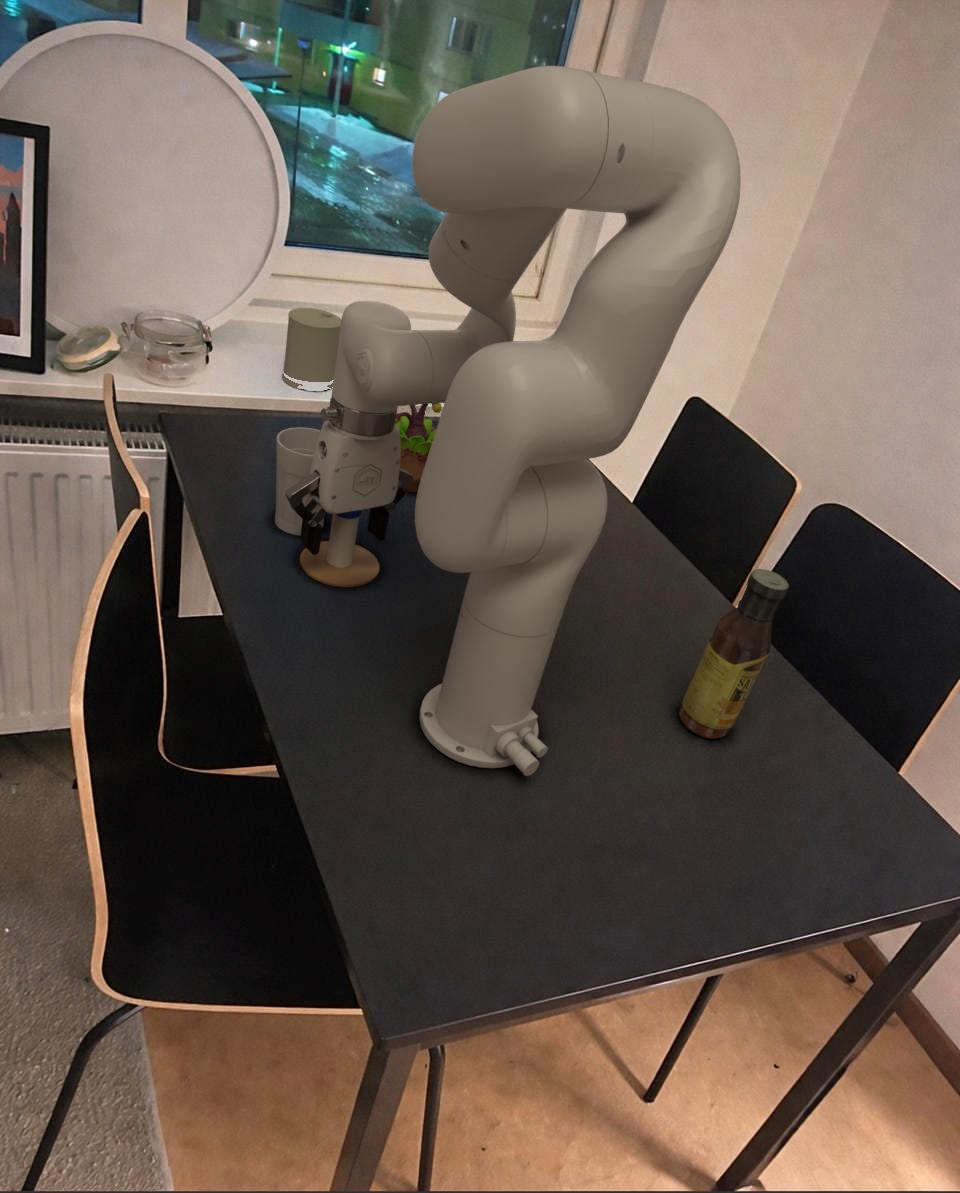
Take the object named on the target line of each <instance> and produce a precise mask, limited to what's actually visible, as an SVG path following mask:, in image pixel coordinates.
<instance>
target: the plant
mask: <svg viewBox="0 0 960 1193" xmlns="http://www.w3.org/2000/svg"><path fill="white" fill-rule="evenodd" d="M427 407H429V404H420V407H419V409H418V411H417V407H416V405H409V408H410V412H407V411H402V412H397V414H396V420H395V424H396V425H397V426H398V427H399V430H400V444H401V456H400V468H401V469H403V470H405V471H407V472H408V473H410V474H411V475H412V476H413V480H412V482H411V484H410V485H409V487H408V488H407V490H405V492H408V493H417V492H418V488H419V484H420V480H421V477H422V474H423V470H424V467H425V464H426V461H427V458H428V454H429V451H430V448H431V445H432V442H433V439H434V435H435V432H436V429H437V427H434V426H433V420H432V418H425V416H426V411H427ZM431 409H432V411H433V412H434V413H436V414H437V413H438V414H440V412H442V410H443V406H442V403H431Z"/></svg>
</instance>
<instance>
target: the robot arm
mask: <svg viewBox="0 0 960 1193" xmlns="http://www.w3.org/2000/svg"><path fill="white" fill-rule="evenodd" d="M411 167H412V177H413V181H414V184H415V188H416V190H417V191H418V193H419V195H420V198H421V199H422V200H423V201H424V202H425V203H426V204H427V205H428V206H429V207H431V208H433V209H434V210H436V211H439V212H442V213H445V215H443V216H444V217H443V218H442V220H441V222H440V224H439V226H438V227H437V229H436V230H435V233H434V234H433V236H432V238H431V240H430V242H429V245H428V252H427V254H428V262H429V266H430V268H431V271H432V273H433V275H434V277H435V278H436V280H437V281H438V282H439V284H440V285H441V286H442V287H443V288H444V289H445V291H447V292H448V293H449V294H450V295H452V296H453V298H455V299H457V300H458V301H459V302H461V303H463V304H464V305H466V306H467V307H469V308H470V310H469V311H468V313H467V314H466V315H465V317H464V319H463V320H462V322H461V323H460V324H459V326H457V328H455V329H412V324H411V320H410V318H409V316H408V315H407V313H405V311H403V310H402V309H400V308H399V307H396V306H394V305H391V304H389V303H384V302H381V301H375V300H358V301H354V302H352V303H349V304H348V305H347V306H346V307H345V309H344V310H343V312H342V315H341V318H340V319H341V327H340V334H339V342H338V350H337V358H336V365H335V373H334V381H333V388H332V389H331V398H330V399H329V406H328V407H325V408H321V410H320V418H321V419H322V420H323V424H322V426H321V429H320V430H321V431H320V434H319V437H318V441H317V444H316V448H315V452H314V456H313V461H312V466H311V471H310V475H309V476H308V477H306V478H305V479H303V480H301V481H300V482H298V483H297V484H295V485H294V486H292V487H291V488H289V489H288V490H286V492H285V495H286V497H287V499H288V501H289V503H290V505H291V508H292V509H293V510H294V511H295V512H296V513H297V514H298V515H299V516H300V517H301V518H302V527H301V535H299V536H300V538H299V539H300V542H301V544H302V546H304V547H305V548H307V549H308V550H309V551H310V552H311V553H312V554H313V555H315V554H318V553H319V549H320V542H322V541H321V540H322V534H323V528H322V526H321V525H320V524H319V523H320V521H321V520H322V519H323V518H324V519H325V517H326V515H328V514H330V515H333V514H340V513H347V512H352V511H358V510H361V511H364V510H368V509H369V515H368V521H367V526H366V527H367V528H366V529H367V531H368V532H369V533H370V534H371V535H372V536H373V537H375V539H377V540H378V541H379V542H383V541H385V540H386V536H387V530H388V526H389V520H390V515H391V514H392V513H393V512H395V510H396V508H397V507H396V505H397V504H398V503H399V502H400V501H401V500H402V499H404V496H405V495H406V491H405V490H407V488H408V487H409V485H410V484H411V482H412V480H413V476H412V475H411V474H410V473H408V472H407V471H405V470H403V469H401V468H400V456H401V444H400V430H399V427H398V426H397V425H396V424H395V420H396V414H397V413H398V408H399V407H406V406H410V405H415V406H418V405H423V404H428V405H429V404H432V403H440V404H443V406H442V409H441V413H440V416H439V420H438V423H437V425H436V432H435V435H434V439H433V442H432V445H431V448H430V451H429V454H428V458H427V461H426V464H425V467H424V470H423V474H422V477H421V480H420V484H419V488H418V492H416V499H415V504H414V526H415V534H416V537H417V542H418V543H419V547H420V549H421V551H422V552H423V554H424V555H425V556H426V558H427V560H429V561H430V562H431V563H432V564H433V565H435V566H436V567H438V568H439V569H441V570H444V571H447V572H451V573H456V574H457V573H458V574H467V573H469V576H468V580H467V583H466V587H465V590H464V594H463V599H462V603H461V605H460V606H461V607H460V611H459V614H458V617H457V618H458V619H457V623H456V627H455V630H454V634H453V638H452V642H451V647H450V650H449V654H448V659H447V663H446V667H445V671H444V675H443V679H442V683H440V684H437V685H436V686H435V687H433V688H431V690H429V691H428V692H427V693H426V694H425V696H424V698H423V699H422V701H421V705H420V708H419V715H418V719H419V725H420V728H421V731H422V732H423V735H424V737H426V739H427V740H428V741H429V743H430V744H431V745H432V746H433V747H434V748H436V750H438V751H439V752H441V753H442V754H443V755H445V756H446V757H448V758H450V759H452V760H454V761H455V762H458V763H460V764H461V763H462V764H464V765H466V766H470V767H477V768H481V769H482V768H483V769H499V768H506V767H511V766H513V765H514V766H515V767H516V768H517V769H518V770H519V771H520V772H521V773H522V774H523V775H524V776H526V777H528V776H531V775H533V774H534V773H535V772H536V771H537V770H538V768H539V767H540V761H539V760H538V759H537V758H540V759H541V758H542V757H544V756H545V755H547V753H548V750H549V747H548V746H547V745H545V743H544V742H543V741H541V739H539V738H538V737H539V732H540V730H539V723H538V717H539V715H538V714H537V713H536V712H535V711H534V710H533V705H534V702H535V699H536V696H537V692H538V690H539V686H540V685H541V684H540V683H541V680H542V678H543V674H544V671H545V668H546V665H547V663H548V659H549V656H550V653H551V650H552V647H553V644H554V641H555V638H556V634H557V632H558V628H559V626H560V623H561V620H562V617H563V614H564V611H565V608H566V605H567V602H568V600H569V597H570V594H571V592H572V589H573V586H574V585H575V582H576V580H577V578H578V575H579V573H580V572H581V569H582V568H583V566H584V564H585V562H586V561H587V560H588V558H589V555H590V554H591V552H592V550H593V549H594V547H595V545H596V543H597V542H598V539H599V537H600V535H601V533H602V530H603V528H604V525H605V522H606V518H607V513H608V493H607V487H606V484H605V482H604V479H603V477H602V475H601V473H600V472H599V470H598V469H597V467H596V466H595V465H594V464H593V463H592V462H591V461H589V460H590V459H591V460H592V459H596V458H600V457H603V456H606V455H608V454H611V453H613V452H614V451H615V450H617V449H618V448H619V447H620V446H621V445H622V444H623V443H624V441H625V440H626V439H627V437H629V436H628V435H629V434H630V432H631V430H632V429H633V426H634V425H635V424H636V421H637V418H638V417H639V414H640V413H641V410H642V408H643V406H644V404H645V402H646V400H647V398H648V396H649V394H650V391H651V390H652V388H653V386H654V383H655V381H656V379H657V378H658V375H659V373H660V371H661V369H662V367H663V365H664V363H665V361H666V359H667V356H668V354H669V352H670V351H671V348H672V345H673V343H674V341H675V338H676V336H677V333H678V332H679V330H680V328H681V326H682V324H683V322H684V319H685V318H686V316H687V314H688V312H689V310H690V308H691V307H692V305H693V303H694V302H695V300H696V298H697V296H698V294H699V293H700V291H701V290H702V288H703V287H704V284H705V283H706V281H707V280H708V278H709V276H710V275H711V273H712V271H713V269H714V268H715V266H716V265H717V263H718V261H719V258H720V256H721V255H722V253H723V251H724V249H725V247H726V244H727V242H728V241H729V238H730V236H731V233H732V230H733V227H734V224H735V221H736V217H737V213H738V209H739V205H740V198H741V184H742V183H741V182H742V181H741V180H742V179H741V176H742V175H741V163H740V156H739V152H738V148H737V145H736V142H735V138H734V137H733V135H732V132H731V130H730V128H729V127H728V125H727V124H726V122H725V121H724V119H723V118H722V117H721V116H720V115H719V114H718V113H717V111H715V110H714V109H713V108H712V107H711V106H710V105H708V104H707V103H706V102H704V101H703V100H701V99H698V98H697V97H695V96H693V95H690V94H688V93H685V92H684V91H682V90H678V89H674V88H671V87H668V86H663V85H660V84H655V83H651V82H646V81H640V80H635V79H629V78H623V77H618V76H613V75H608V74H604V73H600V72H595V71H589V70H585V69H580V68H574V67H570V66H569V67H568V66H561V65H542V66H536V67H535V66H534V67H530V68H526V69H522V70H519V71H515V72H512V73H509V74H505V75H503V76H500V77H496V78H493V79H489V80H486V81H481V82H478V83H475V84H471V85H468V86H466V87H461V88H459V89H457V90H454V91H452V92H450V93H449V94H447V95H445V96H444V97H442V98H441V99H440V100H439V101H438V102H437V103H436V104H435V105H434V106H433V107H432V108H431V109H430V110H429V111H428V113H427V114H426V116H425V118H424V119H423V121H422V123H421V124H420V127H419V129H418V132H417V134H416V137H415V140H414V145H413V150H412V158H411ZM567 210H576V211H577V210H578V211H587V212H588V211H589V212H599V213H612V214H623V215H624V217H625V223H624V225H623V226H622V227H621V229H619V231H617V233H616V234H614V236H613V237H611V239H609V240H608V241H606V243H605V244H604V245H603V246H602V247H601V248H600V249H599V250H598V252H597V253H596V254H595V255H594V256H593V257H592V258H591V260H590V261H589V262H588V263H587V265H586V267H585V269H584V270H583V271H582V273H581V274H580V277H579V278H578V280H577V282H576V284H575V286H574V288H573V290H572V291H573V292H572V294H571V297H570V300H569V303H568V306H567V308H566V309H565V311H564V314H563V317H562V319H561V320H560V322H559V324H558V327H556V329H555V331H554V333H552V334H551V335H550V336H548V337H546V338H544V339H541V340H514V339H515V334H516V326H517V324H516V323H517V309H516V302H515V297H514V294H513V290H514V288H515V286H516V285H517V284H518V282H519V281H520V279H521V278H522V276H523V274H525V273H526V270H527V269H528V267H529V266H530V264H531V263H532V262H533V260H534V259H535V257H536V256H537V254H538V252H539V251H540V250H541V248H542V247H543V245H544V244H545V242H546V241H547V240H548V238H549V237H550V236H551V233H552V232H553V231H554V229H555V228H556V226H557V224H558V223H559V221H561V219H562V217H564V216H563V215H564V214H565V213H566V211H567ZM307 494H309V495H310V496H311V497H310V498H309V499H308V500H307V501H306V503H305V504H303V501H302V499H303V497H304V496H306V495H307ZM318 504H319V505H320V506H319V507H318V508H317V510H316V511H315V512H314V513H312V511H313V509H314V508H315V507H316V506H317V505H318ZM533 754H534V755H535V756H536V757H537V758H536V757H535V756H534V755H533Z"/></svg>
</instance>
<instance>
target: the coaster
mask: <svg viewBox="0 0 960 1193" xmlns="http://www.w3.org/2000/svg"><path fill="white" fill-rule="evenodd" d="M328 546H329V540H323V541H321V542H320V549H319V553H318V554H315V555H313V554H312V553H311V552H310V551H309V550H308V549H307V548H306V547H305V548H303V549H302V551H301V553H300V555H299V564H300V565H299V566H300V567H301V569H302V570H303V572H304V573H305V574H307V576H309V577H310V578H312V579H314V580H315V581H317V582H319V583H321V584H325V585H328V586H331V587H332V586H333V587H338V588H357V587H360V586H365V585H367V584H369V583H371V582H373V581H374V580H376V578H377V577H378V575H379V572H380V563H379V561H378V559H377V557H376V556H375V554H373V553H372V552H370V550H368V549H366V548H364V547H362V546H360V545H358V544H355V547H354V553H353V559H352V564H351V565H350V566H349V567H346V568H338V567H334V566H332V565H330V564H329V563H328V562H327V553H328Z"/></svg>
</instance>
